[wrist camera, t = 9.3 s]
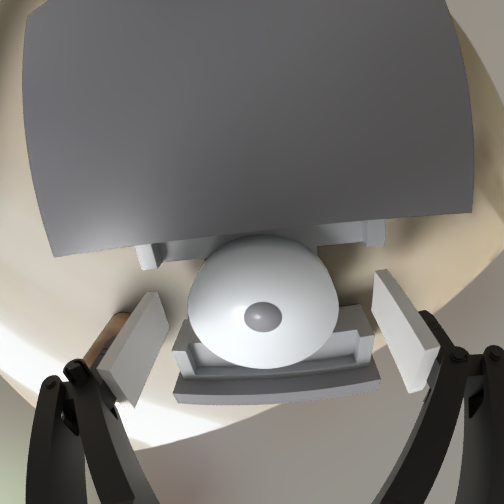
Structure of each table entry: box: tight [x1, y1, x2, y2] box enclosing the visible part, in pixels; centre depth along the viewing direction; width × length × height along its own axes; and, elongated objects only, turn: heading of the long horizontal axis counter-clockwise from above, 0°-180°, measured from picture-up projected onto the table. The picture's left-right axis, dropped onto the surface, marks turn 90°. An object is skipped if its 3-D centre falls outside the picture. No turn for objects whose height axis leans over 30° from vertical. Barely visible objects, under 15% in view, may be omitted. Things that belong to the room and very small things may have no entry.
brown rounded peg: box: [82, 313, 131, 402], centre depth 19 cm, size 4×4×6 cm
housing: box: [22, 0, 474, 257], centre depth 11 cm, size 20×14×7 cm
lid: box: [188, 234, 339, 369], centre depth 15 cm, size 8×8×2 cm
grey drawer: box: [135, 219, 385, 405], centre depth 16 cm, size 14×14×5 cm
